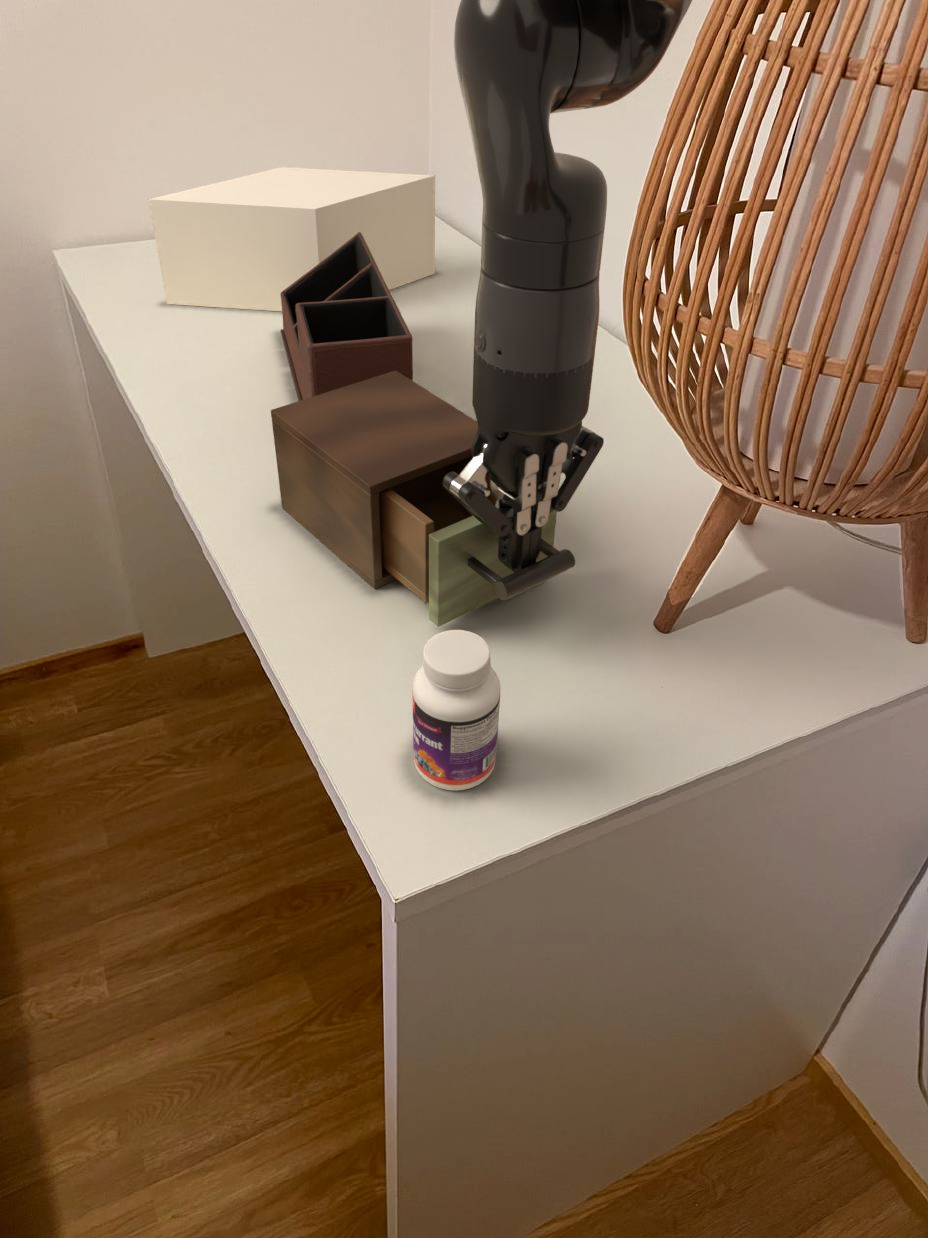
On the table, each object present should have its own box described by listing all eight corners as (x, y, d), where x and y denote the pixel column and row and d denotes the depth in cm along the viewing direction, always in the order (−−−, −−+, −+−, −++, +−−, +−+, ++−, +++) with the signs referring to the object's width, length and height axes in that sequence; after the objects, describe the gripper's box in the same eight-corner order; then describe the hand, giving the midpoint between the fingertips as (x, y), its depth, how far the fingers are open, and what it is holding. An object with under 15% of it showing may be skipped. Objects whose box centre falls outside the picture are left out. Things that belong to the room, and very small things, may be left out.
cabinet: (496, 535, 84) (501, 436, 77) (374, 589, 77) (369, 486, 71) (398, 464, 92) (395, 369, 86) (281, 507, 86) (270, 409, 80)
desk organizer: (312, 459, 93) (302, 347, 85) (280, 333, 114) (269, 235, 107) (420, 448, 95) (420, 337, 87) (368, 326, 116) (364, 229, 109)
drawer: (592, 602, 75) (604, 518, 70) (478, 661, 70) (481, 575, 65) (448, 498, 86) (450, 419, 81) (339, 543, 81) (333, 460, 76)
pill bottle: (400, 745, 65) (397, 635, 58) (474, 722, 66) (478, 612, 60) (433, 804, 61) (433, 693, 55) (510, 777, 63) (518, 666, 56)
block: (158, 278, 126) (140, 177, 119) (414, 251, 136) (413, 156, 128) (176, 331, 114) (157, 223, 106) (457, 297, 124) (459, 195, 116)
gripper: (490, 393, 55) (480, 627, 66) (653, 336, 61) (618, 558, 72) (412, 346, 59) (415, 573, 70) (571, 298, 66) (550, 513, 77)
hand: (518, 565), depth 71 cm, fingers closed
